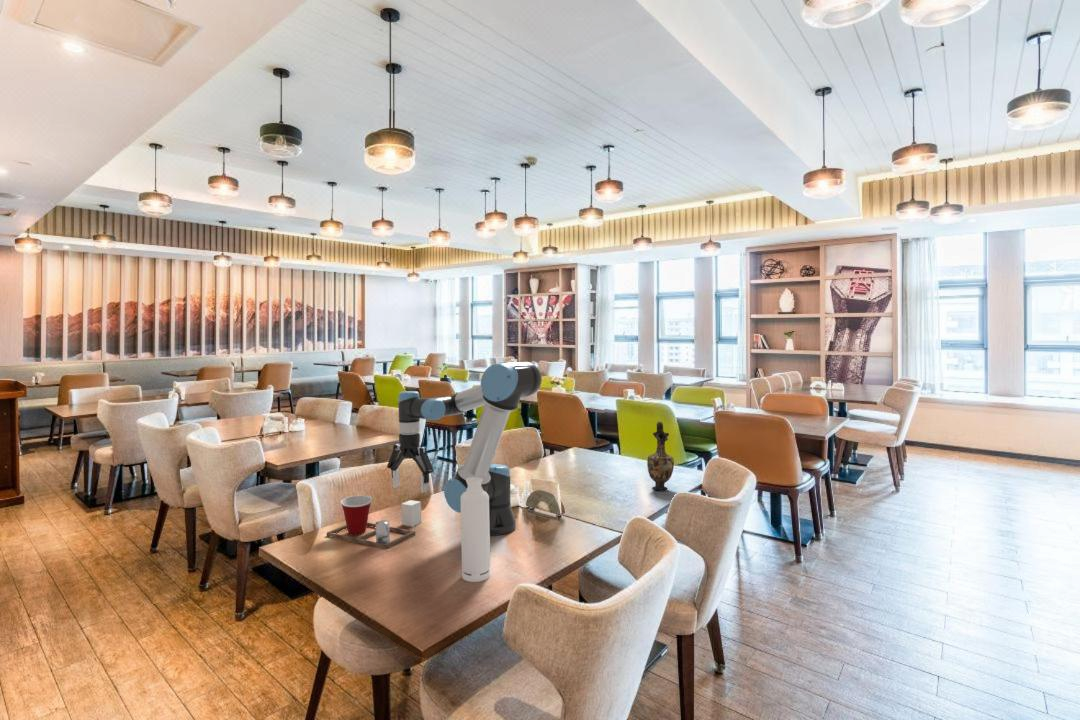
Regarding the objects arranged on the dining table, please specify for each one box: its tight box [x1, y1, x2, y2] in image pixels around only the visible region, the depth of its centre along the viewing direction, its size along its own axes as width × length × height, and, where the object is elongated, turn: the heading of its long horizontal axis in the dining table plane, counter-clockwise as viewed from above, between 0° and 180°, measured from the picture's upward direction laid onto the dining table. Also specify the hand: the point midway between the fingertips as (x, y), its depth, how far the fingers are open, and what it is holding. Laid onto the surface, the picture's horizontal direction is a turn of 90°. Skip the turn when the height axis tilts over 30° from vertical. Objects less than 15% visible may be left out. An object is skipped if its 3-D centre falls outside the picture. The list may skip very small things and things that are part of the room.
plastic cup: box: [340, 495, 373, 536], centre depth 188 cm, size 11×11×12 cm
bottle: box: [460, 477, 491, 583], centre depth 151 cm, size 8×8×28 cm
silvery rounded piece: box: [374, 519, 391, 544], centre depth 178 cm, size 4×4×7 cm
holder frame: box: [326, 521, 416, 550], centre depth 185 cm, size 28×14×1 cm, turn 63°
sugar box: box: [400, 499, 422, 528], centre depth 196 cm, size 5×5×8 cm
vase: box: [646, 421, 675, 492], centre depth 237 cm, size 12×12×30 cm
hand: (410, 489), depth 196 cm, fingers open, 13 cm apart
